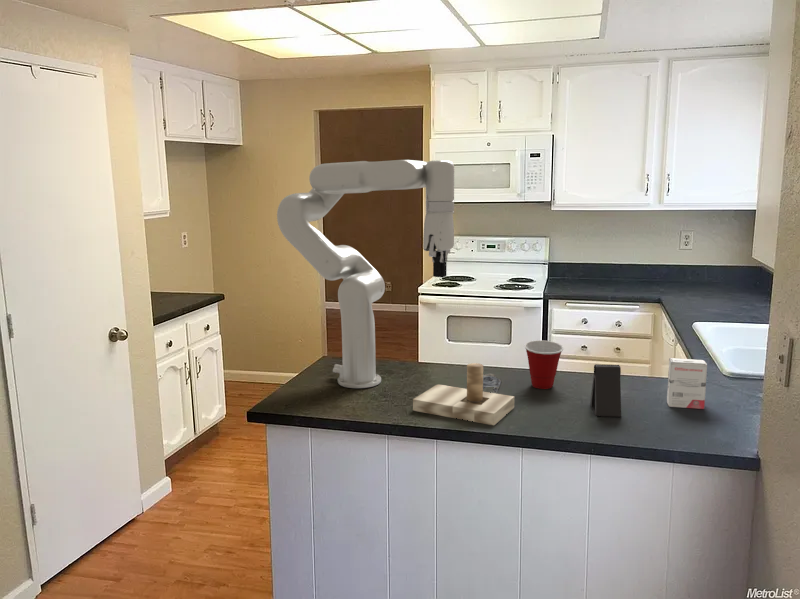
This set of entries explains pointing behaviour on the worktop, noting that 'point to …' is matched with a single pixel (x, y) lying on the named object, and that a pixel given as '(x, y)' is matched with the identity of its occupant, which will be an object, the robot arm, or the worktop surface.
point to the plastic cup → (543, 362)
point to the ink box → (686, 383)
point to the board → (463, 404)
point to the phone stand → (606, 391)
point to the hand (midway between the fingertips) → (439, 276)
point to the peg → (475, 383)
